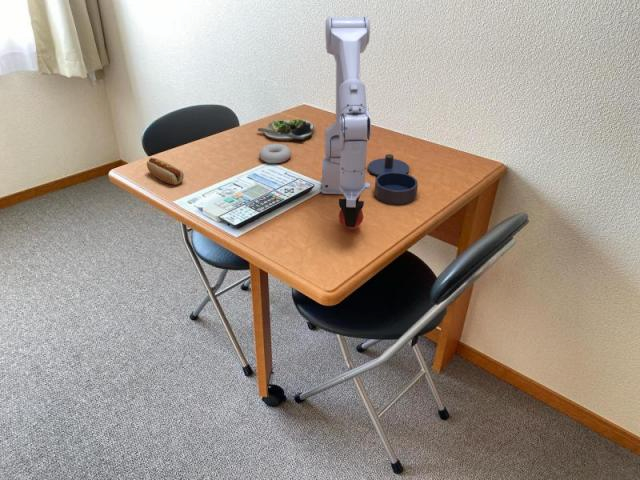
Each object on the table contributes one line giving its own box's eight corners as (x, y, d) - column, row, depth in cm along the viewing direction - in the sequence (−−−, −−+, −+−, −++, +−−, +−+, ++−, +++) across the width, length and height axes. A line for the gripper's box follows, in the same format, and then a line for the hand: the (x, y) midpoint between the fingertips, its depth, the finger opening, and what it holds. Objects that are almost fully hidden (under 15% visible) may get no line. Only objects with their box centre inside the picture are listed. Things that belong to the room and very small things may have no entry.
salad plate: (254, 143, 160) (252, 130, 158) (261, 123, 175) (260, 111, 172) (311, 144, 159) (311, 130, 157) (314, 124, 174) (314, 112, 172)
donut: (255, 164, 147) (286, 166, 145) (254, 153, 145) (286, 155, 143) (265, 151, 155) (294, 153, 153) (264, 141, 153) (294, 142, 151)
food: (144, 174, 141) (141, 159, 138) (160, 168, 144) (157, 153, 141) (172, 189, 133) (169, 173, 130) (188, 182, 137) (186, 166, 134)
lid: (367, 178, 138) (368, 164, 136) (367, 160, 148) (368, 146, 146) (410, 180, 137) (411, 165, 135) (407, 162, 148) (409, 148, 145)
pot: (374, 203, 126) (375, 190, 124) (374, 184, 136) (375, 171, 133) (417, 205, 125) (419, 192, 123) (414, 185, 135) (415, 172, 132)
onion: (335, 233, 115) (335, 204, 110) (342, 221, 119) (343, 192, 115) (358, 237, 113) (360, 208, 109) (365, 225, 117) (367, 197, 113)
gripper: (370, 182, 100) (367, 235, 108) (371, 153, 112) (367, 204, 120) (337, 180, 101) (336, 234, 109) (341, 152, 113) (339, 202, 121)
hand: (350, 218), depth 114 cm, fingers open, 6 cm apart
